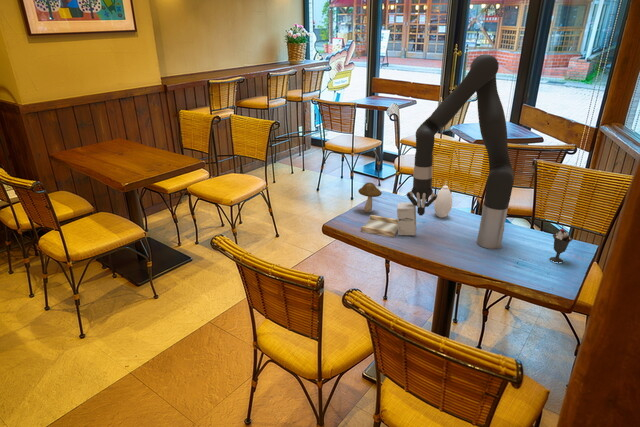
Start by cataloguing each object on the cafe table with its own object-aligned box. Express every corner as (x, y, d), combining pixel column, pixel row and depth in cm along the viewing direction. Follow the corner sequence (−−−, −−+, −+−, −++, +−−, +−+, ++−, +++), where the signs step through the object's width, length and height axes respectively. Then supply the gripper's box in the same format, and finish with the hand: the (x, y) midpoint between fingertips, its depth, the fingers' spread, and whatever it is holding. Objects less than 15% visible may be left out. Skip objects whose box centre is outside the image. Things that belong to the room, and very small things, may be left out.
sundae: (549, 254, 170) (557, 220, 164) (567, 260, 167) (577, 225, 161) (544, 261, 166) (553, 225, 160) (563, 266, 162) (573, 231, 156)
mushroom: (375, 218, 201) (377, 188, 194) (353, 213, 206) (355, 183, 200) (383, 211, 208) (385, 182, 202) (362, 206, 213) (363, 178, 207)
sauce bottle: (443, 221, 198) (448, 185, 191) (429, 216, 203) (433, 180, 196) (453, 217, 202) (458, 181, 195) (439, 212, 208) (444, 176, 201)
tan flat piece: (401, 224, 194) (401, 220, 193) (393, 237, 183) (394, 232, 182) (370, 219, 199) (370, 214, 199) (361, 231, 188) (361, 226, 187)
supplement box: (398, 235, 185) (396, 208, 180) (400, 228, 191) (398, 202, 187) (415, 235, 182) (414, 208, 178) (417, 228, 189) (415, 201, 184)
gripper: (440, 174, 175) (438, 213, 182) (408, 171, 180) (407, 209, 187) (438, 179, 169) (435, 220, 176) (404, 177, 174) (403, 216, 181)
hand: (420, 214), depth 181 cm, fingers closed
